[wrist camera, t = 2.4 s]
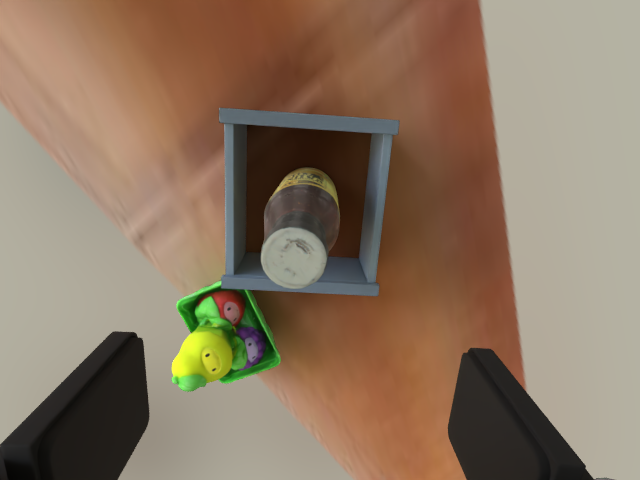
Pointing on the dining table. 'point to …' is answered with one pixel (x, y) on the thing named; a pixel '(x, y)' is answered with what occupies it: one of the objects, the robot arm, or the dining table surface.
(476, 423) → the robot arm
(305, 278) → the sauce bottle
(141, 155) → the dining table surface
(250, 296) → the fruit basket
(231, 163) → the blue wooden frame
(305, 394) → the dining table surface
